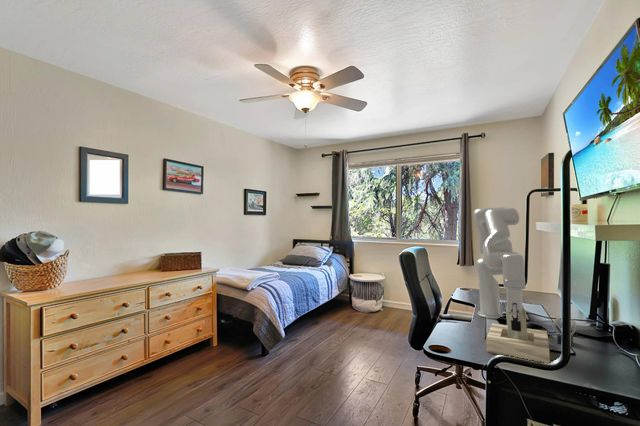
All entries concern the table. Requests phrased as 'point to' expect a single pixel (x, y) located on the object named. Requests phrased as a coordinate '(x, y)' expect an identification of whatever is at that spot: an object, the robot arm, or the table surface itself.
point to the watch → (560, 333)
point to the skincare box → (523, 333)
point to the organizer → (518, 344)
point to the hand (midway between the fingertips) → (516, 327)
